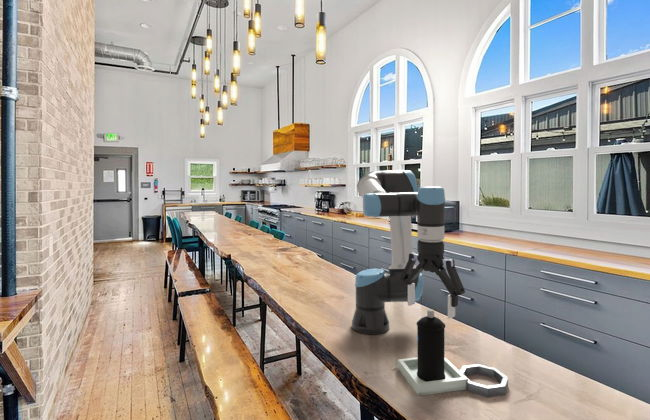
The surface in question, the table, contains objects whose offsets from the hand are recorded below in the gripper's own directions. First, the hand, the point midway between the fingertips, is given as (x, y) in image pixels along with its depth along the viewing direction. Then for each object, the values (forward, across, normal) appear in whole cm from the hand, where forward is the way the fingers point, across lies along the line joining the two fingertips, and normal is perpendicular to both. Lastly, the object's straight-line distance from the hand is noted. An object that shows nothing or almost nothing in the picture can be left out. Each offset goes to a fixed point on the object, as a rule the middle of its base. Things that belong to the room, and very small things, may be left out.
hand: (430, 310), depth 107 cm
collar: (+20, +12, +8) cm, 25 cm away
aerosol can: (+20, +1, -1) cm, 20 cm away
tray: (+20, +1, -1) cm, 21 cm away
